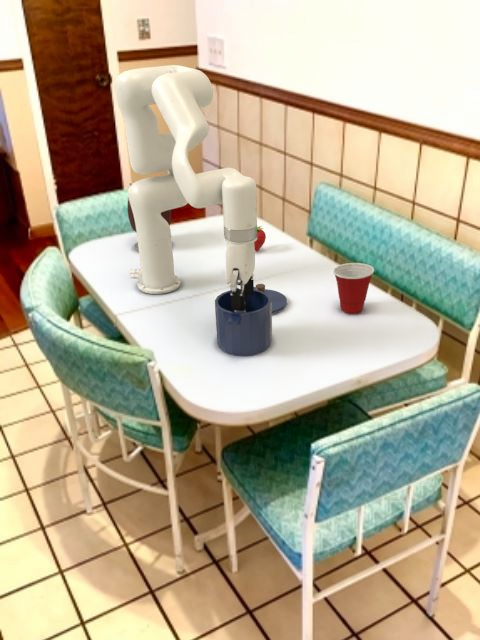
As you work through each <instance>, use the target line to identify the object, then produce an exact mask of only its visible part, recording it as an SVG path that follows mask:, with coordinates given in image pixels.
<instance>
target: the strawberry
mask: <svg viewBox="0 0 480 640" xmlns="http://www.w3.org/2000/svg"><path fill="white" fill-rule="evenodd" d="M266 239H267V235H266V232H265V231H264V228H263V227H262V225H260V226H257V240H256V241H255V242H254V248H255V252H259V251H260V250H261V248H262V247H263V246H264V244H265V242H266Z"/></svg>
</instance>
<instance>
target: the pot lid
mask: <svg viewBox="0 0 480 640" xmlns="http://www.w3.org/2000/svg"><path fill="white" fill-rule="evenodd" d="M255 287H257V290H259V291H263V292H265V293H267V294H268V295H269V296H270V297H271V301H272V314H274V313H278V312H280V311H282V310H284V309H285V307H286V306H287V305H288V298H287V296H286V295H285V294H283V293H281V292H279V291H277V290H274V289H267V288H266V285H265V284H264V283H257V284H255Z"/></svg>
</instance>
